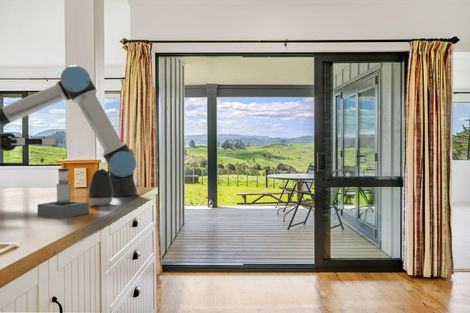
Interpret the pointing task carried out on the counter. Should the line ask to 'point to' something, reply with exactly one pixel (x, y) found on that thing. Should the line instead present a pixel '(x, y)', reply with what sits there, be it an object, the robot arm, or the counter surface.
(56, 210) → the socket block
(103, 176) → the dark grey egg shape
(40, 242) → the counter surface
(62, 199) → the tube
